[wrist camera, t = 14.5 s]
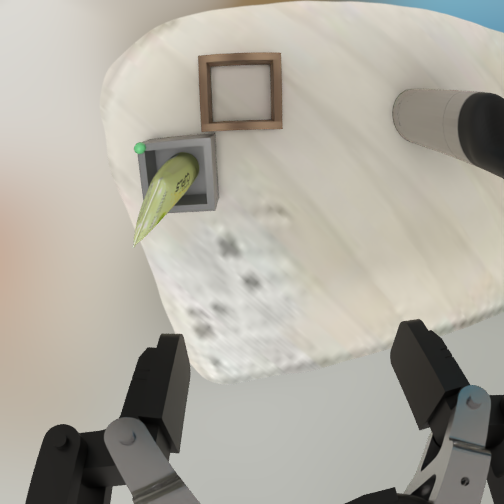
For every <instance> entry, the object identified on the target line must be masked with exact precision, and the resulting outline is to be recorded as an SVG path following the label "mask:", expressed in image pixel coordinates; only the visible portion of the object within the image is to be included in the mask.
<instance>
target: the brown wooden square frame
mask: <svg viewBox="0 0 504 504" xmlns="http://www.w3.org/2000/svg"><path fill="white" fill-rule="evenodd" d="M198 63H199V90H200V111H201V130H202V132H208V131H225V130H249V129H282V77H281V53H231V54H215V55H203V56H198ZM264 64H270V78H271V120H243V121H221V122H213V118H212V96H211V69H210V67H214V66H230V65H264Z"/></svg>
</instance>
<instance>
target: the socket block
mask: <svg viewBox="0 0 504 504" xmlns="http://www.w3.org/2000/svg"><path fill="white" fill-rule="evenodd" d="M134 150H135V152H136V153H137V154H138V161H139V170H140V178H141V185H142V193H143V200H144V199H145V196H146V193H147V191H148V188H149V186H150V184H151V181H152V179H153V178H154V176H155V174H156V173H157V172H158V170H159V169H160V168H161V167H162V166H163V165H164V164H165V163H166V162H167V161H168V160H169V159H170V158H171V157H172V156H173V155H175V154H177V153H180V152H186V153H189V154H191V155H193V156H194V157H195V158H196V159H197V161H198V163H199V173H198V176H197V178H196V179H195V181H194V182H193V183H192V185H191V186H190V187H189V189H188V190H187V191H186V192H185V194H184V195H183V196H182V197H181V198H180V199H179V201H178V202H177V203H176V204H175V205H174V206H173V207H172V209H171V210H170V211H169V212H168V213H178V212H197V211H215V210H216V206H217V202H218V199H219V194H218V178H217V162H216V144H215V133H214V134H200V135H187V136H177V137H167V138H158V139H149V140H147V141H145V142H139V143H137V144H136V145H135V147H134Z"/></svg>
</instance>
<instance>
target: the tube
mask: <svg viewBox="0 0 504 504" xmlns="http://www.w3.org/2000/svg"><path fill="white" fill-rule="evenodd" d="M198 173H199V163H198V161H197V159H196V158H195V157H194V156H193V155H191V154H189V153H186V152H180V153H177V154H175V155H173V156H172V157H171V158H170V159H169V160H168V161H167V162H166V163H165V164H164V165H163V166H162V167H161V168H160V169H159V170H158V172H157V173H156V174H155V176H154V178H153V179H152V181H151V184H150V186H149V188H148V191H147V193H146V196H145V199H144V201H143V204H142V207H141V210H140V213H139V217H138V220H137V224H136V229H135V235H134V245H133V248H134V247H135V245H136V244H137V243H138V242H140V241H141V240H142V239H143V238H144V237H145V236H146V235H147V234H148V233H149V232H150V231H151V230H152V229H153V228H154V227H155V226H156V225H157V224H158V223H159V222H160V220H161V219H162V218H163V217H164V216H165V215H166V214H167V213H168V212H169V211H170V210H171V209H172V207H173V206H174V205H175V204H176V203H177V202H178V201H179V199H180V198H181V197H182V196H183V195H184V194H185V192H186V191H187V190H188V189H189V187H190V186H191V185H192V183H193V182H194V181H195V179H196V178H197V176H198Z"/></svg>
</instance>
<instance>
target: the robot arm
mask: <svg viewBox="0 0 504 504" xmlns="http://www.w3.org/2000/svg"><path fill="white" fill-rule="evenodd" d="M393 120H394V124H395V126H396V129H397V130H398V132H399V133H400V135H401V136H402V137H403V138H404V139H406V140H408V141H410V142H412V143H415V144H418V145H421V146H424V147H427V148H430V149H433V150H435V151H438V152H441V153H444V154H446V155H449V156H452V157H454V158H457V159H459V160H462V161H465V162H467V163H470V164H472V165H475V166H477V167H479V168H482V169H484V170H487V171H489V172H491V173H493V174H495V175H497V176H499V177H501V178H503V179H504V98H502V97H500V96H498V95H496V94H492V93H484V92H473V91H458V90H436V89H410V90H406V91H404V92H403V93H401V94H400V95H399V96H398V98H397V100H396V101H395V104H394V107H393ZM390 359H391V364H392V367H393V369H394V371H395V373H396V375H397V378H398V380H399V382H400V385H401V387H402V389H403V391H404V394H405V396H406V399H407V401H408V403H409V406H410V408H411V410H412V413H413V415H414V417H415V420H416V423H417V425H418V428H419V430H422V429H425V428H429V427H430V428H431V431H432V432H431V434H430V436H429V438H428V441H427V444H426V447H425V450H424V453H423V455H422V458H421V461H420V463H419V466H418V469H417V471H416V474H415V476H414V478H413V479H412V481H411V482H410V483H409V485H408V486H407V488H406V490H405V492H404V494H399V493H396V489H395V487H393V488H390V489H386V490H382V491H378V492H375V493H370V494H366V495H363V496H361V497H359V498H356V499H354V500H352V501H350V502H348V503H345V504H480V503H481V499H482V495H483V492H484V488H485V484H486V480H487V482H488V485H489V488H490V492H491V495H492V498H493V502H494V504H504V395H488V393H487V392H486V391H485V390H484V389H483V388H481V387H479V386H476V385H470V384H469V382H468V380H467V379H466V377H465V375H464V374H463V372H462V370H461V369H460V367H459V366H458V364H457V362H456V361H455V359H454V357H452V354H451V353H450V351H449V350H447V346H446V345H445V343H444V342H443V340H442V339H441V338H440V337H439V336H438V335H437V334H435V333H434V332H433V331H432V330H430V331H428V329H427V328H426V326H425V325H424V323H423V322H422V321H421V320H420V319H416V320H409V321H402V322H401V323H400V325H399V328H398V331H397V334H396V337H395V340H394V343H393V346H392V349H391V353H390ZM189 382H190V363H189V358H188V354H187V350H186V345H185V341H184V337H183V335H182V334H161V335H160V338H159V341H158V345H157V348H150V347H149V348H147V349H146V350H145V351H144V352H143V353H142V355H141V356H140V357H139V359H138V362H137V365H136V368H135V371H134V374H133V377H132V381H131V383H130V386H129V390H128V393H127V396H126V399H125V402H124V406H123V409H122V412H121V415H120V417H119V419H116V420H115V421H113V422H112V423H111V424H109V425H108V427H107V428H106V429H105V430H101V431H94V432H85V433H78V432H77V431H76V429H75V428H73V427H72V426H69V425H66V424H60V425H57V426H54V427H52V428H51V429H50V430H49V431H48V432H47V433H46V435H45V437H44V439H43V442H42V445H41V449H40V452H39V455H38V458H37V461H36V465H35V469H34V472H33V475H32V479H31V483H30V487H29V491H28V495H27V499H26V504H110V500H111V494H112V487H113V486H118V485H127V487H128V488H129V490H130V492H131V494H132V496H133V502H134V504H200V503H199V501H198V500H197V499H196V498H195V496H194V495H193V494H192V492H191V491H190V490H189V489H188V487H187V486H186V485H185V484H184V482H183V481H182V480H181V478H180V477H179V476H178V475H177V473H176V472H175V471H174V469H173V468H172V466H171V465H170V463H169V456H170V453H179V452H180V444H181V437H182V429H183V421H184V415H185V408H186V402H187V395H188V388H189Z"/></svg>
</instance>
